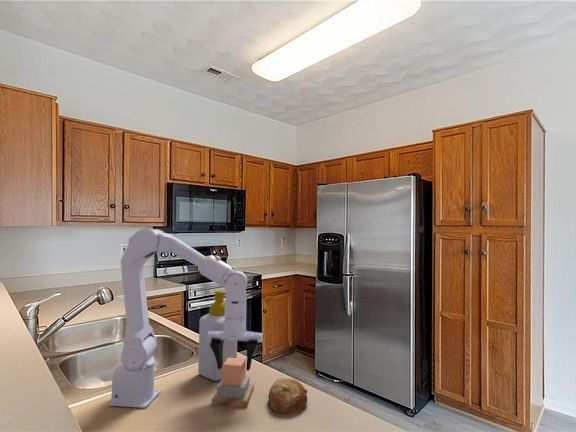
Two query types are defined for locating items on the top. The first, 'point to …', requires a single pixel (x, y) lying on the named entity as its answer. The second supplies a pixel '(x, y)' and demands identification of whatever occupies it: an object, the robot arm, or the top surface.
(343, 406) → the top surface
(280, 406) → the bread roll
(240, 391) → the grey slab
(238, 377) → the terracotta cube
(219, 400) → the walnut slab
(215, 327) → the soap bottle
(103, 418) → the top surface
